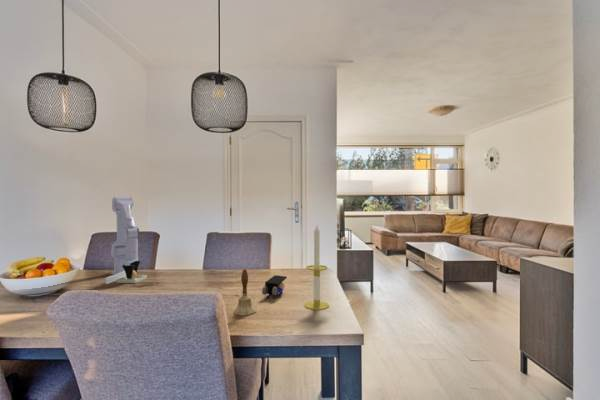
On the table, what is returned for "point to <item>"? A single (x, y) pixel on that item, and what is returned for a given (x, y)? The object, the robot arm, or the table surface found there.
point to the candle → (316, 277)
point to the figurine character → (274, 286)
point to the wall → (114, 277)
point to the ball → (133, 275)
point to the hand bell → (244, 299)
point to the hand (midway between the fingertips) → (131, 276)
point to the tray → (135, 280)
